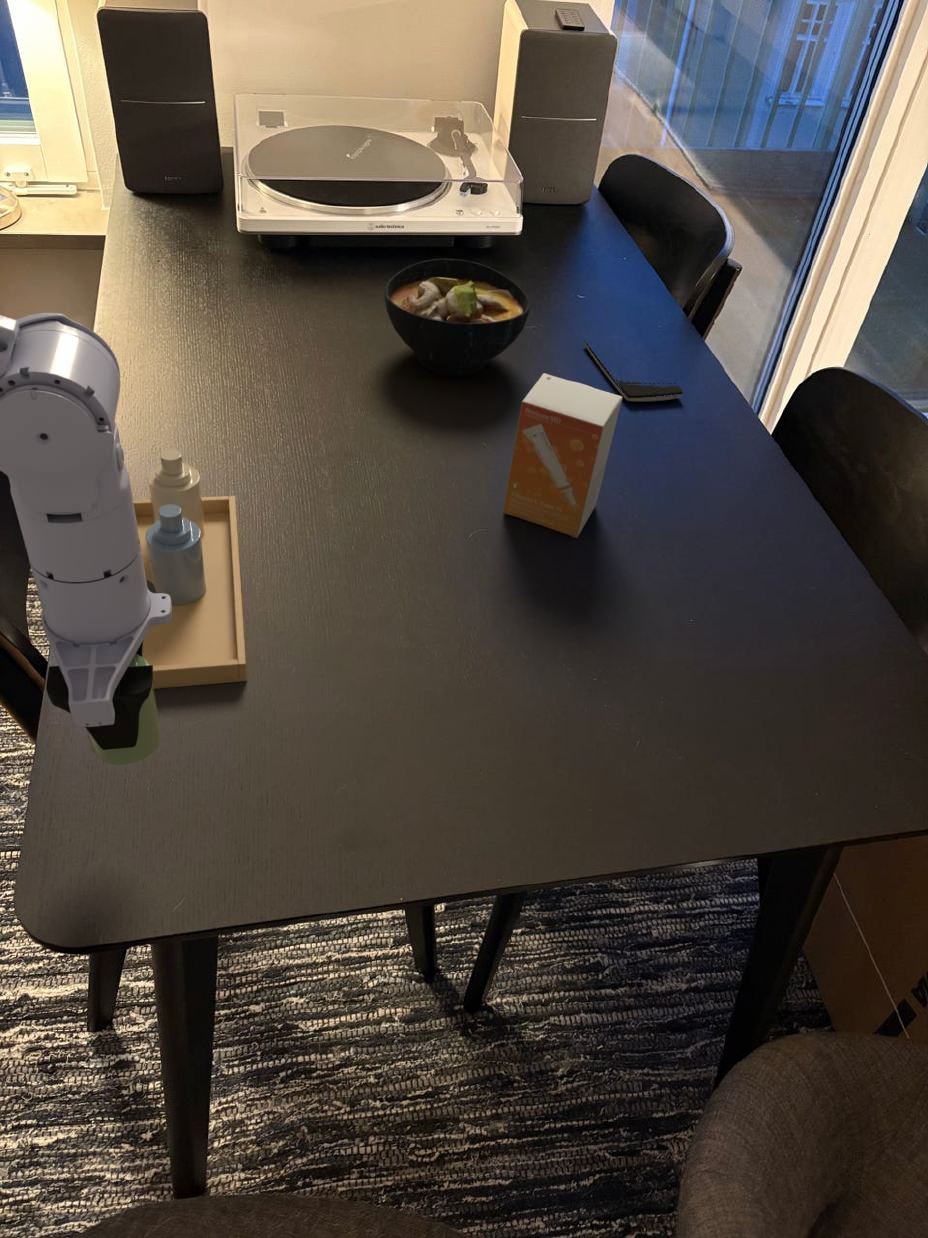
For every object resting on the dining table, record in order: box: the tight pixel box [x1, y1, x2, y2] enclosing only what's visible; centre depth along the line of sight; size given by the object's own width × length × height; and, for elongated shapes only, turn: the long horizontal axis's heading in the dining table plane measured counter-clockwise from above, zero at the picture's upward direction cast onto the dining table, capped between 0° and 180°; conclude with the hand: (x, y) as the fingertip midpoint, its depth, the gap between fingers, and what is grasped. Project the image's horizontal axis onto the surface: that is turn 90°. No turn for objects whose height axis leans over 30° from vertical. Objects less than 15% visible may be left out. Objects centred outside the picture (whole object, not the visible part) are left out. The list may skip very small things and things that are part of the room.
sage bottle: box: [86, 654, 162, 766], centre depth 60 cm, size 4×4×8 cm
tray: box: [133, 495, 248, 690], centre depth 83 cm, size 10×22×2 cm, turn 12°
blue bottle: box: [145, 504, 207, 605], centre depth 81 cm, size 4×4×8 cm
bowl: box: [384, 258, 531, 377], centre depth 115 cm, size 17×17×10 cm
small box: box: [503, 372, 623, 539], centre depth 94 cm, size 8×6×13 cm
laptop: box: [582, 339, 684, 402], centre depth 120 cm, size 7×1×15 cm
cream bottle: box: [147, 448, 205, 538], centre depth 86 cm, size 4×4×8 cm
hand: (120, 714), depth 62 cm, fingers closed on sage bottle, 4 cm apart
